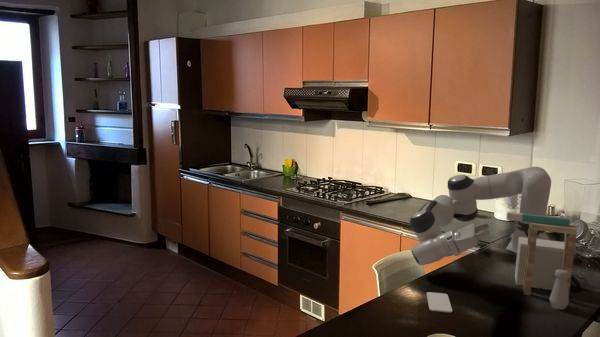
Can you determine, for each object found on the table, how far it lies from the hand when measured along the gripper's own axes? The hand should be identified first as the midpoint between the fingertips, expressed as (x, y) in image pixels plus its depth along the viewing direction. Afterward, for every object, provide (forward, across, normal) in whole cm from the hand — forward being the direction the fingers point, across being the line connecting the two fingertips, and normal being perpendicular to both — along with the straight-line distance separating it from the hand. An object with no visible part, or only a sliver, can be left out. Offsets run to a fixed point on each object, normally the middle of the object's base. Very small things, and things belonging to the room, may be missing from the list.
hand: (488, 228), depth 179 cm
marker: (+16, 0, -4) cm, 16 cm away
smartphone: (-24, +23, -12) cm, 35 cm away
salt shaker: (+9, +10, -31) cm, 34 cm away
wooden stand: (+7, 0, -29) cm, 30 cm away
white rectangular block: (+6, -11, -29) cm, 32 cm away
